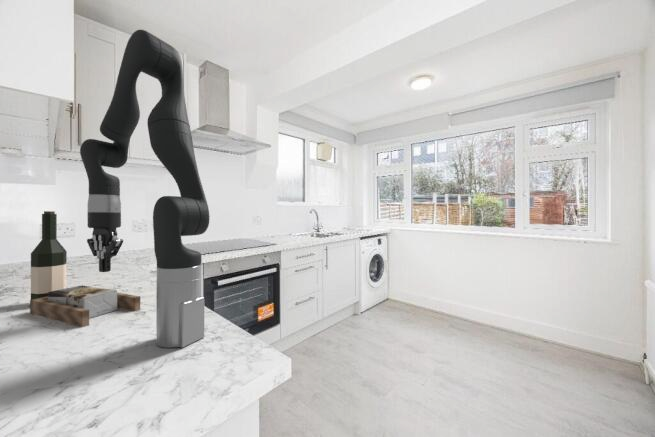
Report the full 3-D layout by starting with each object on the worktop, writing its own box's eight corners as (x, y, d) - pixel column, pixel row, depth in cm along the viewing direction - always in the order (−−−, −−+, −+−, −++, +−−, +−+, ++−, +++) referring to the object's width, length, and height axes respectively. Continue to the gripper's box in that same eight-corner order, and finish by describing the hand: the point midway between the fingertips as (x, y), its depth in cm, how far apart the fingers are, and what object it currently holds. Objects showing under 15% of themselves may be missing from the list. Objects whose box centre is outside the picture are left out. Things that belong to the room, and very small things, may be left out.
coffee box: (83, 297, 76) (46, 291, 82) (83, 320, 77) (46, 313, 82) (117, 289, 85) (82, 284, 90) (118, 310, 85) (82, 304, 90)
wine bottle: (32, 309, 86) (33, 211, 86) (28, 303, 91) (28, 211, 91) (69, 302, 92) (69, 211, 92) (63, 298, 97) (63, 211, 97)
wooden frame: (140, 309, 86) (140, 296, 86) (82, 327, 72) (82, 311, 72) (89, 299, 96) (89, 288, 96) (30, 313, 82) (30, 299, 82)
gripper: (133, 211, 81) (133, 270, 81) (104, 211, 86) (104, 268, 86) (104, 210, 74) (104, 275, 74) (75, 211, 79) (75, 272, 79)
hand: (104, 271), depth 80 cm, fingers closed
